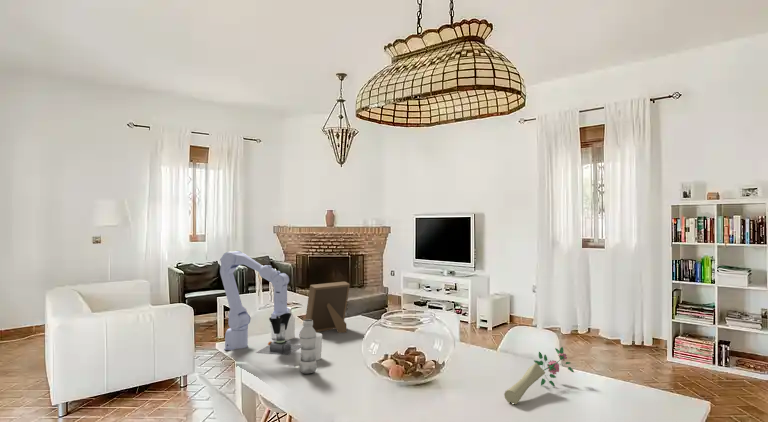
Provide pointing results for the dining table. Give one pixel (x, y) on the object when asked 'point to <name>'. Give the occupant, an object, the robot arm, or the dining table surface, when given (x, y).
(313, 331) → the plastic bottle
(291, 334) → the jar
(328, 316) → the photo frame
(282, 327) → the silver metal canister
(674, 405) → the dining table surface
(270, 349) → the stand base
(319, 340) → the white cup
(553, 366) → the flower vase
